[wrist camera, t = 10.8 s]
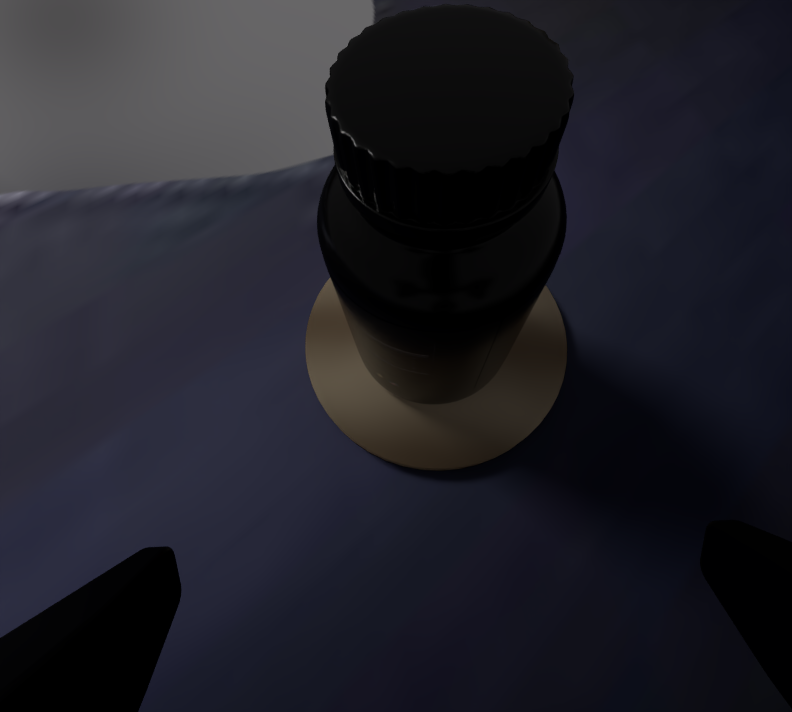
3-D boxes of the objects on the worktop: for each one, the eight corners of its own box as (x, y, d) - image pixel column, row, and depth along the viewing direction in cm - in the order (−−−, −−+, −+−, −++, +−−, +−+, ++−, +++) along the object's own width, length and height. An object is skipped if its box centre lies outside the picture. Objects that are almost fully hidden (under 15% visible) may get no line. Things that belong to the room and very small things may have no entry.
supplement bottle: (416, 250, 21) (419, -65, 10) (534, 324, 19) (706, 43, 8) (325, 350, 19) (198, 104, 8) (446, 442, 17) (508, 295, 6)
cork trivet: (582, 468, 17) (591, 465, 17) (300, 473, 18) (294, 470, 17) (541, 235, 22) (546, 224, 21) (316, 243, 22) (313, 232, 21)
